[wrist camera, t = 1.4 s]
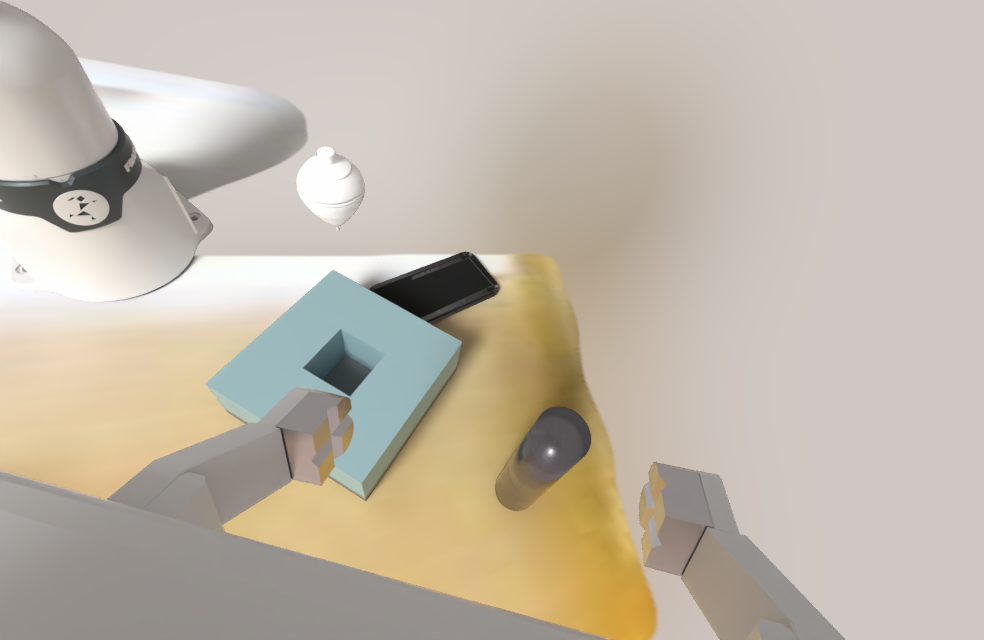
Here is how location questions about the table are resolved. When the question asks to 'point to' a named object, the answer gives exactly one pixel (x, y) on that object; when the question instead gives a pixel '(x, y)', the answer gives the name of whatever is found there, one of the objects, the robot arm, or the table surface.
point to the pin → (543, 457)
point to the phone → (440, 287)
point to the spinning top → (330, 186)
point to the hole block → (346, 371)
